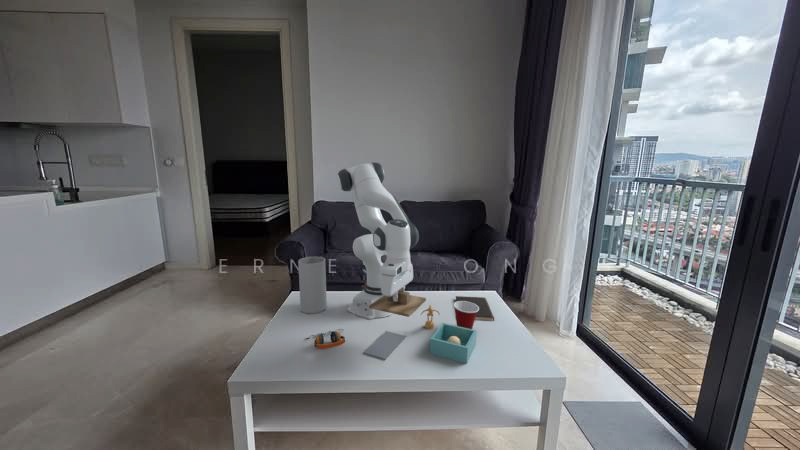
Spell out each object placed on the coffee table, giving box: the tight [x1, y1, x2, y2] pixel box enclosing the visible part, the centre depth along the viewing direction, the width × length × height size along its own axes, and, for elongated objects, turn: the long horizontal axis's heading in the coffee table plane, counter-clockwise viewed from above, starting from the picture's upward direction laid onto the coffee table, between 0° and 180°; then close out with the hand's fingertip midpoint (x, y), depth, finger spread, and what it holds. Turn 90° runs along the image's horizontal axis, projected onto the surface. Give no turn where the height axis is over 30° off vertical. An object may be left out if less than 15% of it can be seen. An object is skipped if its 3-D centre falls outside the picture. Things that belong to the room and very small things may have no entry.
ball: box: [447, 336, 461, 345], centre depth 124 cm, size 5×5×5 cm
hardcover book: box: [455, 295, 495, 321], centre depth 162 cm, size 16×23×2 cm
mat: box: [363, 330, 407, 361], centre depth 126 cm, size 20×18×1 cm
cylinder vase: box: [297, 256, 328, 315], centre depth 158 cm, size 12×12×25 cm
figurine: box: [420, 304, 441, 330], centre depth 139 cm, size 8×6×12 cm
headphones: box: [303, 328, 346, 350], centre depth 129 cm, size 17×5×20 cm
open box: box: [429, 322, 478, 365], centre depth 124 cm, size 14×14×7 cm
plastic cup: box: [453, 301, 479, 330], centre depth 138 cm, size 11×11×12 cm
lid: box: [369, 290, 427, 318], centre depth 122 cm, size 16×16×5 cm
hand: (398, 299), depth 122 cm, fingers closed on lid, 2 cm apart
